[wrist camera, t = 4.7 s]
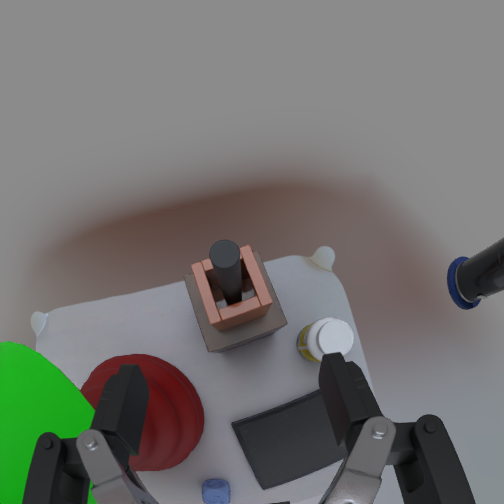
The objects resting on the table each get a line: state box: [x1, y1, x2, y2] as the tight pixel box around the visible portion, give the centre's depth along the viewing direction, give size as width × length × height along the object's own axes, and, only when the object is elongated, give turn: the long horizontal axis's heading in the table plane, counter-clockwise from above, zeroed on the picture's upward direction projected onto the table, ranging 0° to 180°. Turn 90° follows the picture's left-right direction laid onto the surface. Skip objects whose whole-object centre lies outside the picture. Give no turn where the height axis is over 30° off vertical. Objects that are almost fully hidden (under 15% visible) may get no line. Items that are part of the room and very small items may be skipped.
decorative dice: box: [202, 479, 230, 504], centre depth 30 cm, size 4×4×4 cm
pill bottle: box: [297, 317, 354, 362], centre depth 36 cm, size 6×6×11 cm
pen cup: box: [191, 245, 273, 331], centre depth 26 cm, size 5×5×8 cm
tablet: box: [231, 389, 348, 490], centre depth 35 cm, size 18×14×1 cm
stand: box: [184, 251, 288, 352], centre depth 36 cm, size 9×9×14 cm
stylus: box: [209, 240, 242, 305], centre depth 23 cm, size 2×2×14 cm
